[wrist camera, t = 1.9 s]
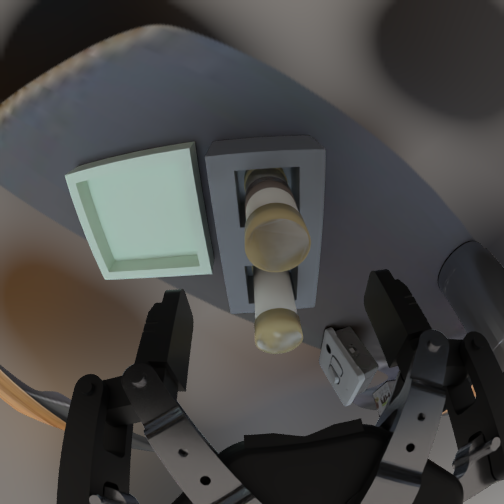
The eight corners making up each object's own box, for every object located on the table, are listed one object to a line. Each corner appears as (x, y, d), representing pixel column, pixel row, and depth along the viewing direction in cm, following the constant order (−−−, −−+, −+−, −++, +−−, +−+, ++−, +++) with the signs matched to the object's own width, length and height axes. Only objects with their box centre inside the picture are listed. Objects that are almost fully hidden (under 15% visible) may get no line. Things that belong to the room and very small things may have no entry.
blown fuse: (284, 158, 21) (312, 214, 13) (285, 196, 23) (309, 269, 15) (242, 160, 21) (241, 219, 13) (245, 198, 23) (247, 274, 15)
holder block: (309, 135, 21) (325, 149, 17) (305, 273, 29) (314, 306, 25) (212, 141, 21) (204, 156, 17) (232, 279, 30) (230, 313, 25)
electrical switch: (324, 325, 35) (346, 383, 27) (358, 317, 35) (384, 371, 28) (317, 361, 40) (333, 410, 33) (347, 353, 41) (365, 401, 33)
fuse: (286, 240, 26) (304, 323, 17) (286, 268, 28) (301, 351, 19) (250, 243, 26) (253, 327, 18) (252, 271, 28) (256, 355, 19)
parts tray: (194, 141, 21) (189, 148, 19) (214, 258, 28) (212, 273, 26) (78, 166, 21) (64, 175, 19) (112, 265, 28) (104, 279, 26)
